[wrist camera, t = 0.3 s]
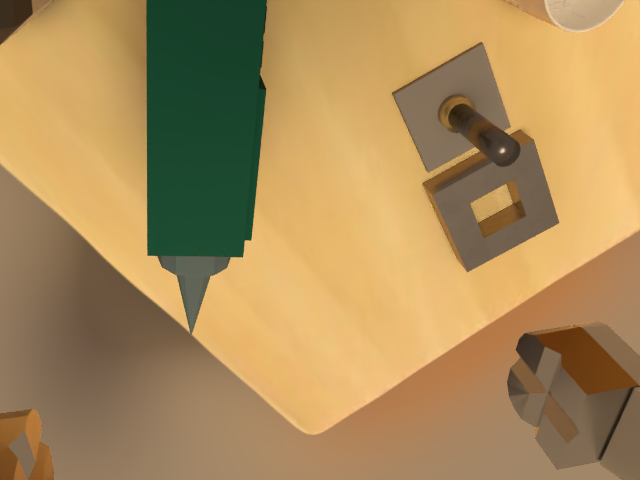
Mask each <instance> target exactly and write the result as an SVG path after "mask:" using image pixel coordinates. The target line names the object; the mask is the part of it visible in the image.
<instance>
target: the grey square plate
mask: <svg viewBox="0 0 640 480" xmlns="http://www.w3.org/2000/svg"><path fill="white" fill-rule="evenodd" d="M392 94H393V96H394V99H395V101H396V103H397V105H398V108H399V110H400V112H401V114H402V116H403V119H404V121H405V123H406V125H407V128H408V130H409V132H410V134H411V137H412V139H413V141H414V143H415V146H416V148H417V150H418V152H419V154H420V157H421V159H422V161H423V163H424V166H425V168H426V170H427V172H428V173H429V172H430V171H432V170H434V169H436V168H438V167H439V166H441V165H443V164H445V163H447V162H448V161H450V160H452V159H454V158H456V157H457V156H459V155H461V154H463V153H465V152H466V151H468V150H470V149H472V148H474V147H475V146H474V145H473V144H472V143H470V142H469V141H468V140H467V139H466V138H465V137H463V136H462V135H461V134H460V133H453V132H450V131H449V130H448V129H446V128H445V127H444V126H443V125H442V124H441V123H440V121H439V119H438V110H439V107H440V105H441V103H442V102H443V101H444V100H445V99H446V98H447V97H449V96H451V95H455V94H460V95H463V96H465V97H466V98H468V99H469V100H471V101H472V102H473V103H474V104H475V106H476V109H477V112H478V113H479V114H481V115H482V116H484V117H485V118H486V119H488V120H489V121H490V122H492V123H493V124H494V125H496V126H497V127H498V128H500V129H501V130H503V131H504V130H506V129H508V128H510V127H511V126H510V123H509V120H508V117H507V114H506V111H505V108H504V105H503V102H502V99H501V96H500V93H499V90H498V87H497V84H496V81H495V78H494V75H493V72H492V69H491V66H490V63H489V60H488V57H487V54H486V51H485V48H484V44H483V43H479V44H477V45H476V46H474V47H472V48H470V49H469V50H467V51H465V52H463V53H462V54H460V55H458V56H456V57H455V58H453V59H451V60H449V61H448V62H446V63H444V64H442V65H441V66H439V67H437V68H435V69H434V70H432V71H430V72H428V73H427V74H425V75H423V76H421V77H420V78H418V79H416V80H415V81H413V82H411V83H409V84H408V85H406V86H404V87H402V88H401V89H399V90H397V91H395V92H394V93H392Z"/></svg>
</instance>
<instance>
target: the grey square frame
mask: <svg viewBox="0 0 640 480" xmlns="http://www.w3.org/2000/svg"><path fill="white" fill-rule="evenodd" d="M509 136H511V137H512V138H513V139H515V140H516V141H517V142H518V143H519V144H520V148H521V151H520V155H519V157H518V159H517V160H516V161H515V162H514V163H513V164H511V165H509V166H506V167H500V166H497V165H496V164H495V163H494V162H492V161H491V160H490V159H489V158H488V157H487V156H486V155H484V154H483V153H482V152H479V153H477V154H475V155H473V156H472V157H470V158H468V159H466V160H464V161H463V162H461V163H459V164H457V165H455V166H454V167H452V168H450V169H448V170H446V171H444V172H443V173H441V174H439V175H437V176H435V177H434V178H432V179H430V180H428V181H426V182H425V183H423V186H424V188H425V190H426V192H427V194H428V196H429V199H430V201H431V203H432V205H433V207H434V209H435V212H436V214H437V216H438V218H439V220H440V223H441V225H442V227H443V229H444V231H445V233H446V236H447V238H448V240H449V242H450V244H451V246H452V249H453V251H454V253H455V255H456V257H457V259H458V261H459V262H460V263H461V265H462V266H463V267H464V269H465V270H466V271H467V272H469V271H471V270H472V269H474V268H476V267H478V266H480V265H482V264H484V263H485V262H487V261H489V260H491V259H493V258H495V257H497V256H499V255H500V254H502V253H504V252H506V251H508V250H510V249H512V248H514V247H515V246H517V245H519V244H521V243H523V242H525V241H527V240H528V239H530V238H532V237H534V236H536V235H538V234H540V233H542V232H543V231H545V230H547V229H549V228H551V227H553V226H555V225H557V224H558V223H559V220H558V217H557V214H556V211H555V207H554V204H553V201H552V198H551V194H550V191H549V188H548V185H547V181H546V178H545V175H544V172H543V168H542V165H541V162H540V159H539V155H538V152H537V149H536V146H535V142H534V139H532V138H531V137H529V136H528V135H526V134H525V133H523V132H522V131H521V130H518V131H517V132H515V133H513V134H511V135H509ZM504 184H507V186H508V189H509V192H510V195H511V198H512V200H513V203H514V204H513V205H511V206H509V207H507V208H505V209H504V210H502V211H500V212H498V213H496V214H494V215H493V216H491V217H489V218H487V219H485V220H483V221H482V222H480V223H477V221H476V218H475V216H474V213H473V211H472V208H471V206H470V204H469V203H471V202H473V201H475V200H477V199H479V198H480V197H482V196H484V195H486V194H488V193H490V192H491V191H493V190H495V189H497V188H499V187H501V186H502V185H504Z"/></svg>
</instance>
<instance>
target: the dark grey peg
mask: <svg viewBox="0 0 640 480" xmlns="http://www.w3.org/2000/svg"><path fill="white" fill-rule="evenodd" d="M438 119H439V121H440V123H441V124H442V125H443V126H444V127H445V128H446V129H448V130H449V131H450V132H453V133H460V134H461V135H462V136H463V137H465V138H466V139H467V140H468V141H469V142H470V143H472V144H473V145H474V146H475V147H476V148H477V149H479V150H480V151H481V152H482V153H483V154H484V155H486V156H487V157H488V158H489V159H490V160H491V161H492V162H494V163H495V164H496V165H497V166H500V167H506V166H509V165H511V164H513V163H514V162H515V161H516V160H517V159H518V157H519V155H520V151H521V148H520V144H519V143H518V142H517V141H516V140H515V139H513V138H512V137H511V136H509V135H508V134H507V133H505V132H504V131H503V130H501V129H500V128H498V127H497V126H496V125H494V124H493V123H492V122H490V121H489V120H488V119H486V118H485V117H484V116H482V115H481V114H479V113H478V112H477V109H476V106H475V104H474V103H473V102H472V101H471V100H469V99H468V98H466V97H465V96H463V95H460V94H455V95H451V96H449V97H447V98H446V99H445V100H444V101H443V102H442V103H441V105H440V107H439V110H438Z"/></svg>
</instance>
